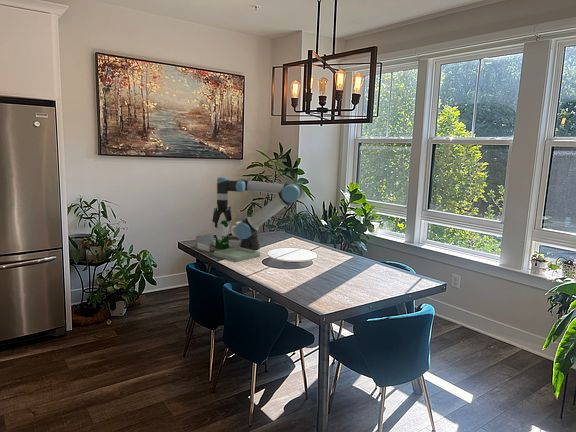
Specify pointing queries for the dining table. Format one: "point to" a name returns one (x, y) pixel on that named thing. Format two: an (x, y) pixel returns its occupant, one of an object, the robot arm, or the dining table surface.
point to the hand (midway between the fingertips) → (222, 231)
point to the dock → (205, 241)
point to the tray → (237, 254)
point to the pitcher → (235, 227)
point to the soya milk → (222, 236)
